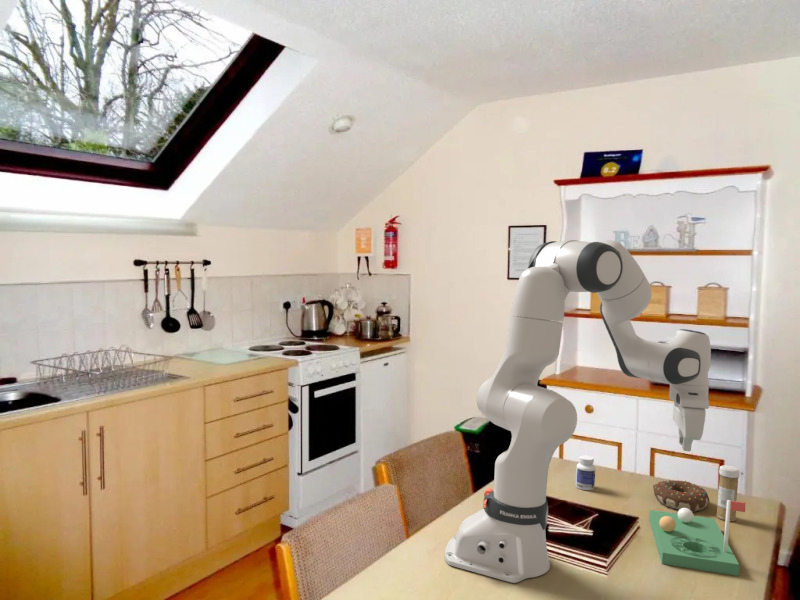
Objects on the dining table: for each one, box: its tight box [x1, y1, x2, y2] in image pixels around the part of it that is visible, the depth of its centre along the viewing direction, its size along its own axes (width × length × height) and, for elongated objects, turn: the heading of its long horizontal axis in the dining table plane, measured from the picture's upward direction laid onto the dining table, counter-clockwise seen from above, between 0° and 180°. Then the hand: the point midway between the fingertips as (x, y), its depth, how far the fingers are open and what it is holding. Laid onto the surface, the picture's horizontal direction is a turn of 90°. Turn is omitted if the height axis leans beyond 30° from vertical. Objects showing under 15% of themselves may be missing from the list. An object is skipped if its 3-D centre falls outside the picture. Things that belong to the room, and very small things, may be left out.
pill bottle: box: [575, 454, 596, 491], centre depth 176 cm, size 5×5×9 cm
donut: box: [652, 479, 710, 512], centre depth 167 cm, size 14×14×5 cm
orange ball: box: [659, 516, 676, 532], centre depth 143 cm, size 4×4×4 cm
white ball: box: [677, 508, 694, 523], centre depth 149 cm, size 4×4×4 cm
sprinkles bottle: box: [716, 464, 740, 522], centre depth 158 cm, size 5×5×14 cm
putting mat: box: [648, 500, 746, 577], centre depth 142 cm, size 17×24×14 cm
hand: (684, 447), depth 154 cm, fingers open, 4 cm apart
